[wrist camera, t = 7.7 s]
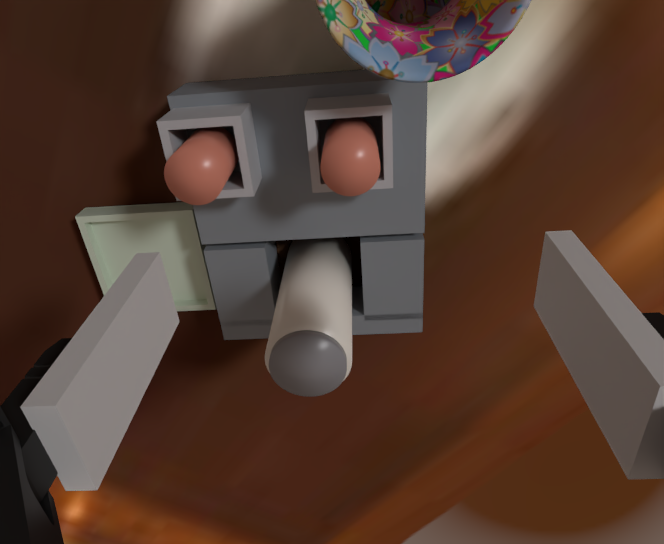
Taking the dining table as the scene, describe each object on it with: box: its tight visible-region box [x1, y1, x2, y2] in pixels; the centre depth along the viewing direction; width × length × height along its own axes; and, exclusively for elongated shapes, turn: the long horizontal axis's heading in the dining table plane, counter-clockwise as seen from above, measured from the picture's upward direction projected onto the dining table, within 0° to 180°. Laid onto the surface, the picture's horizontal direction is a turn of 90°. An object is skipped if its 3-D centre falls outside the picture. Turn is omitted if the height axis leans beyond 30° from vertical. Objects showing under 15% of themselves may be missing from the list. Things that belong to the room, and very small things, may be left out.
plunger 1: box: [164, 127, 239, 205], centre depth 28 cm, size 3×3×4 cm
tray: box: [75, 202, 217, 311], centre depth 39 cm, size 9×9×2 cm
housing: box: [156, 69, 427, 340], centre depth 34 cm, size 18×15×7 cm
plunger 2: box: [320, 117, 381, 196], centre depth 27 cm, size 3×3×4 cm
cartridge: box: [265, 237, 352, 396], centre depth 34 cm, size 5×5×13 cm
